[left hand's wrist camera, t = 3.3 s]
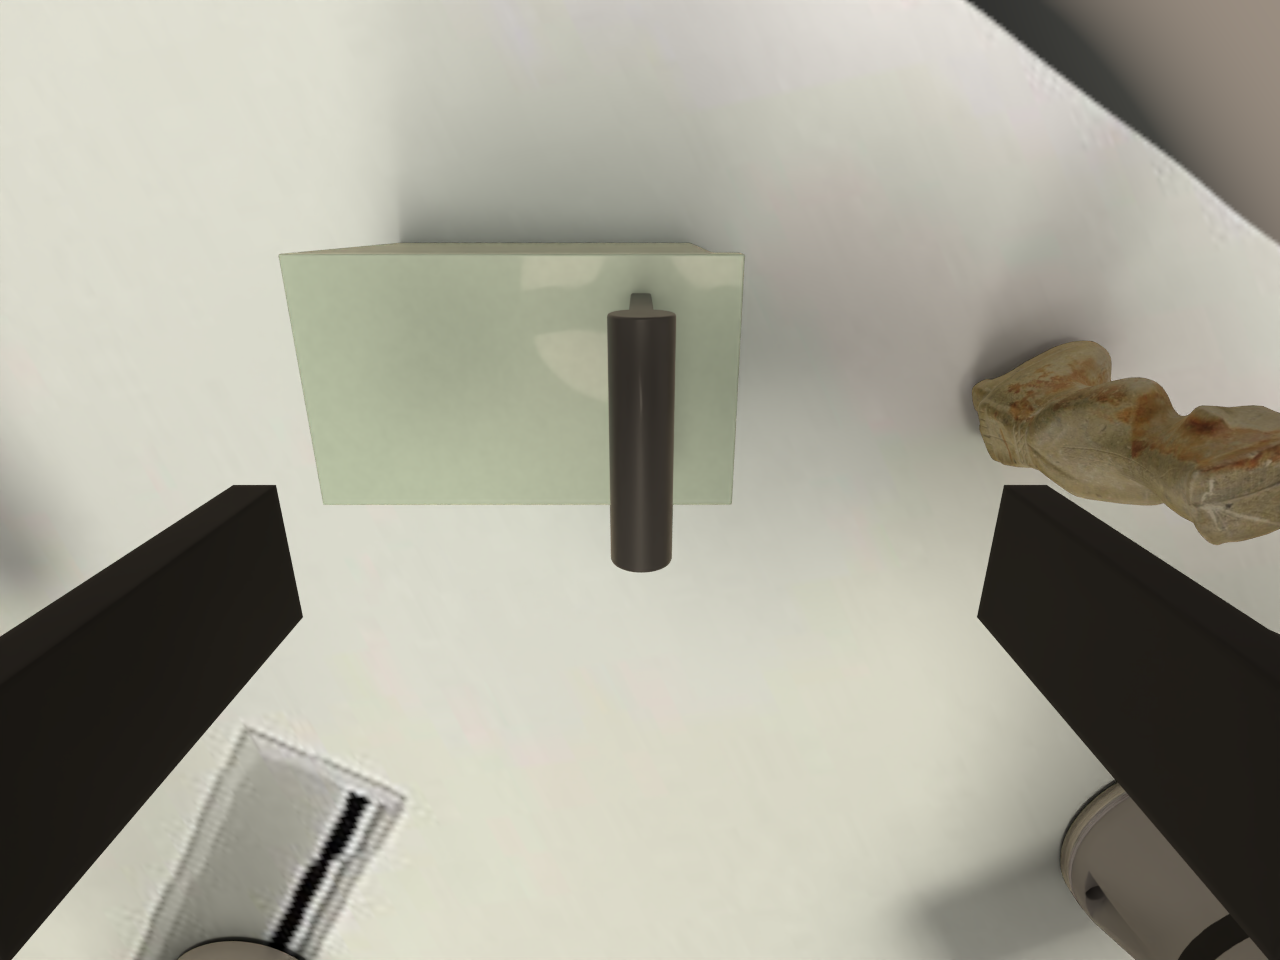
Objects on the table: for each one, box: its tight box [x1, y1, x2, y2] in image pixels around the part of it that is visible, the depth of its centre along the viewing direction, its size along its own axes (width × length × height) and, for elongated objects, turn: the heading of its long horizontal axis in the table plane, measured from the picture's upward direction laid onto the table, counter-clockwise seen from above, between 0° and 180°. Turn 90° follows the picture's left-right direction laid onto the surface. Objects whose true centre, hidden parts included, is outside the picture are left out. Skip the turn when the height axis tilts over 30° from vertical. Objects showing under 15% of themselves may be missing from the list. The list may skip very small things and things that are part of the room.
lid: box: [279, 253, 745, 572], centre depth 21 cm, size 16×9×9 cm, turn 90°
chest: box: [298, 243, 712, 253], centre depth 31 cm, size 15×9×11 cm, turn 90°
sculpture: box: [972, 341, 1280, 545], centre depth 30 cm, size 6×7×15 cm
